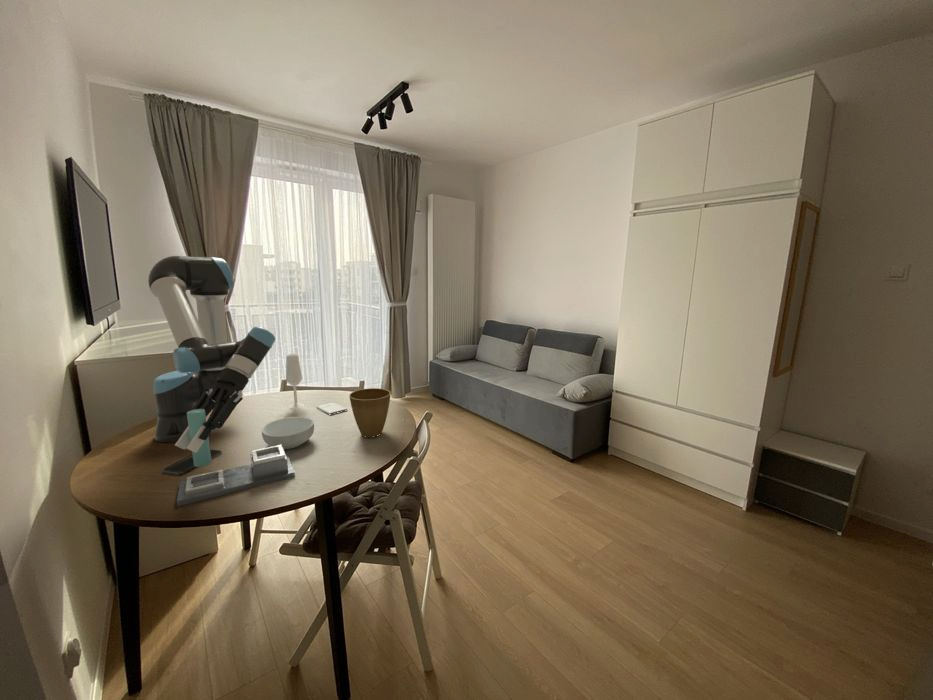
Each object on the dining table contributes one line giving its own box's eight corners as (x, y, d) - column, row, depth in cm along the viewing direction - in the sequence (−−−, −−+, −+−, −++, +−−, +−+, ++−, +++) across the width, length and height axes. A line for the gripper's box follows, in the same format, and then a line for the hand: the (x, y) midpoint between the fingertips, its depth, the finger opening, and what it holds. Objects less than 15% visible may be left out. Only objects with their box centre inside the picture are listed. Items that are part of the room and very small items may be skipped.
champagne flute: (301, 403, 176) (297, 352, 172) (306, 406, 171) (302, 355, 167) (286, 406, 172) (281, 354, 167) (290, 410, 167) (286, 357, 162)
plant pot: (399, 434, 144) (398, 393, 141) (364, 446, 133) (362, 402, 130) (378, 423, 154) (376, 385, 151) (344, 433, 144) (341, 392, 141)
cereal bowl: (270, 436, 140) (268, 418, 139) (317, 432, 144) (316, 414, 143) (257, 457, 124) (255, 437, 123) (311, 452, 128) (310, 433, 127)
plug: (190, 465, 103) (183, 412, 100) (205, 458, 107) (198, 408, 104) (200, 468, 102) (193, 415, 99) (214, 461, 105) (208, 410, 102)
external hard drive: (329, 416, 162) (316, 409, 170) (347, 412, 167) (333, 405, 176) (329, 413, 161) (316, 405, 170) (347, 408, 167) (333, 401, 176)
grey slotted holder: (177, 506, 98) (173, 482, 96) (181, 484, 108) (177, 463, 106) (294, 476, 113) (293, 455, 111) (288, 460, 122) (286, 440, 121)
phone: (160, 470, 114) (203, 448, 128) (161, 473, 114) (203, 451, 128) (182, 473, 112) (223, 450, 127) (183, 476, 112) (223, 453, 127)
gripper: (266, 383, 111) (218, 460, 99) (226, 377, 118) (176, 448, 106) (248, 369, 105) (195, 449, 94) (207, 364, 112) (152, 438, 100)
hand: (185, 448), depth 100 cm, fingers closed on plug, 4 cm apart
